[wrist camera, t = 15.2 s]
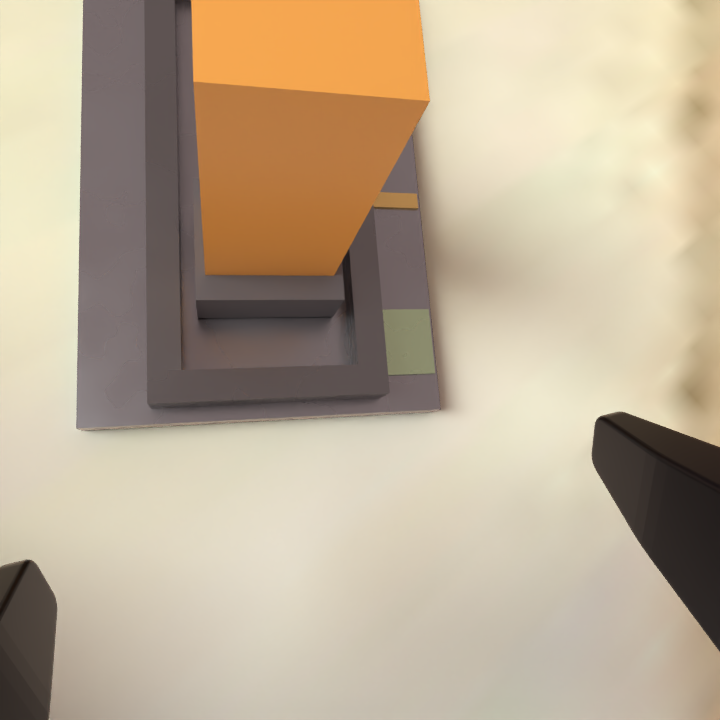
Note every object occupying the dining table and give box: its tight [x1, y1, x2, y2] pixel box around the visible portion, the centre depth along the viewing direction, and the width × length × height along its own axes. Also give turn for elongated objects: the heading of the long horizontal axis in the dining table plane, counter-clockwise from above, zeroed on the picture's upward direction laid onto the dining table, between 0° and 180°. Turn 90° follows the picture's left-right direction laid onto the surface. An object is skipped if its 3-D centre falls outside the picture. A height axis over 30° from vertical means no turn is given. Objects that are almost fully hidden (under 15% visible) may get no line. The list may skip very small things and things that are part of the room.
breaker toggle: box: [191, 0, 430, 318], centre depth 15 cm, size 4×5×11 cm
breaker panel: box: [76, 0, 441, 431], centre depth 21 cm, size 18×12×2 cm, turn 4°
